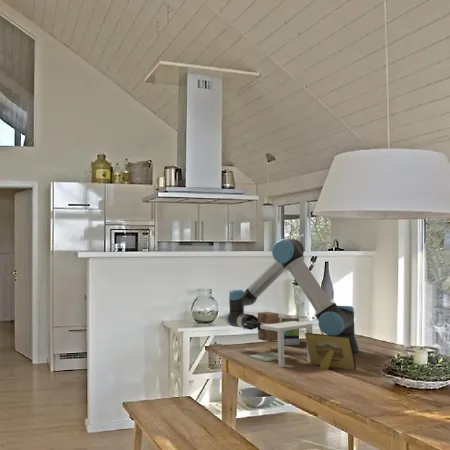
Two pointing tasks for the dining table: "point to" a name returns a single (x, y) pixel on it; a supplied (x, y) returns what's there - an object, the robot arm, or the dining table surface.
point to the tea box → (290, 335)
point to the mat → (267, 356)
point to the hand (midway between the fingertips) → (274, 326)
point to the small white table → (280, 331)
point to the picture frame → (330, 351)
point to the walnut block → (268, 319)
